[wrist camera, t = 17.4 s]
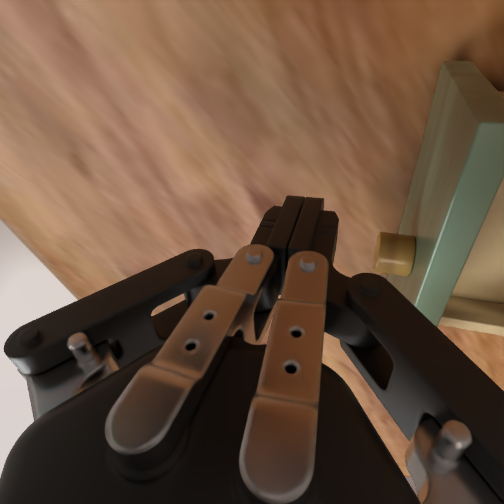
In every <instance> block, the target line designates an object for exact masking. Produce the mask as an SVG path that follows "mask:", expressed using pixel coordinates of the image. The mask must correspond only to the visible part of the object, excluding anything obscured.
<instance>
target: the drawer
mask: <svg viewBox="0 0 504 504" xmlns="http://www.w3.org/2000/svg"><path fill="white" fill-rule="evenodd" d="M373 269H374V271H375V272H380V273H387V278H386V279H387V280H388V281H389V282H390V283H391V284H392V285H393V286H394V287H395V288H396V289H397V290H398V291H399V292H400V293H401V294H403V295H404V296H405V297H406V298H407V299H408V300H409V301H410V302H411V303H412V304H413V305H414V306H415V307H416V308H417V309H418V310H419V311H420V312H421V313H422V314H423V315H424V316H426V317H427V318H428V319H429V320H430V321H431V322H432V323H433V324H434V325H435V326H436V327H437V326H438V325H443V326H449V327H455V328H460V329H466V330H472V331H478V332H484V333H489V334H495V335H501V336H504V92H498V91H497V90H496V89H495V87H494V86H493V85H492V84H491V83H490V82H489V81H488V79H487V78H486V77H485V76H484V75H483V74H482V73H481V72H480V70H479V69H478V68H477V67H476V66H475V65H474V64H473V62H472V61H444V62H443V64H442V68H441V71H440V75H439V79H438V83H437V87H436V90H435V94H434V98H433V102H432V106H431V110H430V113H429V117H428V121H427V125H426V129H425V133H424V136H423V140H422V144H421V148H420V152H419V156H418V159H417V163H416V167H415V171H414V175H413V178H412V182H411V186H410V190H409V194H408V198H407V201H406V205H405V209H404V213H403V217H402V221H401V224H400V228H399V232H398V234H394V233H385V232H380V233H379V235H378V238H377V243H376V248H375V255H374V266H373Z"/></svg>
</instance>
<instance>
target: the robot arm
mask: <svg viewBox="0 0 504 504" xmlns="http://www.w3.org/2000/svg"><path fill="white" fill-rule="evenodd" d="M323 209H324V198H312V197H306V198H305V197H300V196H289V195H288V196H287V197H286V199H285V202H284V204H283V206H282V207H280V206H273V207H272V208H270V209H269V210H268V211H267V212H266V213H265V215H264V217H263V219H262V221H261V223H260V225H259V227H258V229H257V231H256V233H255V235H254V237H253V239H252V241H251V243H250V245H247V246H245V247H243V248H241V249H240V250H239V251H238V252H237V253H236V255H235V256H234V258H231V259H222V260H214V257H213V255H212V253H210V252H209V251H207V250H204V249H193V250H189V251H186V252H184V253H182V254H180V255H178V256H175V257H173V258H171V259H169V260H166V261H164V262H162V263H160V264H158V265H155V266H153V267H151V268H149V269H147V270H144V271H142V272H140V273H138V274H135V275H133V276H131V277H129V278H127V279H124V280H122V281H120V282H118V283H115V284H113V285H111V286H109V287H107V288H104V289H102V290H100V291H98V292H96V293H93V294H91V295H89V296H87V297H84V298H82V299H80V300H78V301H76V302H73V303H71V304H69V305H67V306H65V307H62V308H60V309H58V310H56V311H53V312H51V313H49V314H47V315H45V316H42V317H40V318H38V319H36V320H33V321H31V322H29V323H27V324H25V325H23V326H21V327H20V328H18V329H17V330H15V331H14V332H13V333H12V334H11V335H10V336H9V338H8V339H7V341H6V342H5V345H4V352H5V354H6V355H7V356H8V358H9V359H10V360H11V361H12V362H13V363H14V364H15V366H16V367H17V368H18V371H19V372H20V374H21V375H22V376H23V377H24V378H25V379H26V380H27V385H28V391H29V396H30V401H31V406H32V411H33V417H34V422H33V423H32V424H31V425H30V426H29V427H28V428H27V429H26V430H25V431H24V432H23V433H22V435H21V436H20V437H19V439H18V440H17V441H16V443H15V445H14V446H13V448H12V449H11V451H10V453H9V455H8V457H7V459H6V462H5V465H4V468H3V471H2V474H1V478H0V504H504V391H503V390H502V389H501V388H500V387H499V386H498V385H497V384H496V383H494V382H493V381H492V380H491V379H490V378H489V377H488V376H487V375H486V374H485V373H484V372H483V371H482V370H481V369H480V368H479V367H478V366H477V365H476V364H475V363H474V362H473V361H471V360H470V359H469V358H468V357H467V356H466V355H465V354H464V353H463V352H462V351H461V350H460V349H459V348H458V347H457V346H456V345H455V344H454V343H453V342H452V341H451V340H450V339H448V338H447V337H446V336H445V335H444V334H443V333H442V332H441V331H440V330H439V329H438V328H437V327H436V326H435V325H434V324H433V323H432V322H431V321H430V320H429V319H428V318H427V317H426V316H424V315H423V314H422V313H421V312H420V311H419V310H418V309H417V308H416V307H415V306H414V305H413V304H412V303H411V302H410V301H409V300H408V299H407V298H406V297H405V296H404V295H403V294H401V293H400V292H399V291H398V290H397V289H396V288H395V287H394V286H393V285H392V284H391V283H390V282H389V281H388V280H387V279H385V278H384V277H382V276H379V275H377V274H372V273H360V274H357V275H354V276H353V277H351V278H350V277H347V276H345V275H342V274H341V273H339V272H338V271H337V270H336V269H335V268H334V267H333V261H334V256H335V250H336V242H337V233H338V223H339V219H338V217H337V215H336V213H335V212H333V211H323ZM183 293H184V296H185V300H184V301H182V302H180V303H178V304H176V305H174V306H172V307H170V308H168V309H166V310H164V311H162V312H160V313H158V314H156V315H154V316H151V313H152V311H153V310H154V309H155V308H156V307H157V306H159V305H161V304H163V303H165V302H167V301H169V300H171V299H173V298H175V297H177V296H179V295H181V294H183ZM279 295H281V298H280V299H278V296H279ZM272 318H273V319H272ZM271 320H272V323H271V328H270V332H269V337H268V341H267V345H261V343H262V341H263V338H264V336H265V334H266V331H267V329H268V327H269V325H270V322H271ZM324 332H326V333H328V334H330V335H332V336H334V337H336V338H338V339H340V345H341V347H342V349H343V350H344V351H345V353H346V354H347V356H348V357H349V358H350V360H351V361H352V363H353V364H354V365H355V367H356V368H357V369H358V371H359V372H360V374H361V375H362V376H363V378H364V379H365V381H366V382H367V383H368V385H369V386H370V388H371V389H372V390H373V392H374V393H375V394H376V396H377V397H378V399H379V400H380V401H381V403H382V404H383V406H384V407H385V408H386V410H387V411H388V413H389V414H390V415H391V417H392V418H393V420H394V421H395V422H396V424H397V425H398V426H399V428H400V429H401V431H402V432H403V433H404V435H405V436H406V438H407V439H408V440H409V442H410V443H409V445H408V447H407V449H406V453H405V462H406V466H407V469H408V472H409V474H410V475H411V477H412V479H413V481H414V484H415V486H416V490H417V496H418V497H417V496H416V494H415V492H414V491H413V490H412V488H411V486H410V484H409V483H408V481H407V480H406V478H405V476H404V475H403V473H402V471H401V470H400V468H399V467H398V465H397V463H396V462H395V460H394V459H393V457H392V455H391V454H390V452H389V450H388V449H387V447H386V446H385V444H384V442H383V441H382V439H381V438H380V436H379V434H378V433H377V431H376V429H375V428H374V426H373V425H372V423H371V421H370V420H369V418H368V417H367V415H366V413H365V412H364V410H363V408H362V407H361V405H360V404H359V402H358V400H357V399H356V397H355V395H354V394H353V392H352V391H351V389H350V388H349V386H348V385H347V384H346V382H345V381H344V380H343V379H342V378H341V377H340V376H339V375H338V374H337V373H336V372H335V371H333V370H332V369H331V368H329V367H328V366H326V365H324V364H323V363H322V352H323V339H324Z"/></svg>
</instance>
